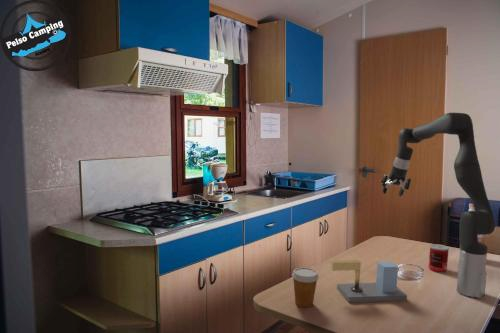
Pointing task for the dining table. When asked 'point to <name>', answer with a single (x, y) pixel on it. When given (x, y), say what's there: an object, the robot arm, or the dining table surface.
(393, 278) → the light blue block
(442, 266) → the canned food
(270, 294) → the dining table surface
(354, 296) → the plate
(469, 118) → the robot arm
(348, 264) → the golden lever handle
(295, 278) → the disposable coffee cup
